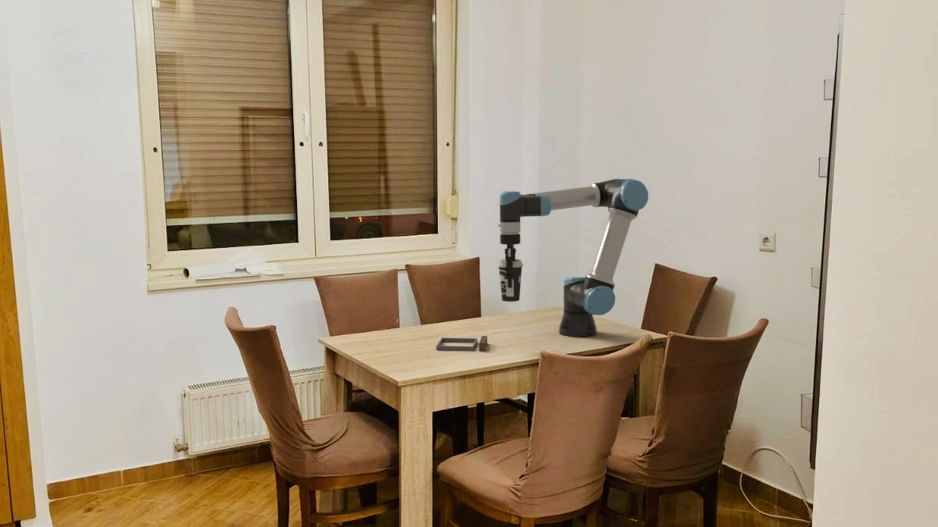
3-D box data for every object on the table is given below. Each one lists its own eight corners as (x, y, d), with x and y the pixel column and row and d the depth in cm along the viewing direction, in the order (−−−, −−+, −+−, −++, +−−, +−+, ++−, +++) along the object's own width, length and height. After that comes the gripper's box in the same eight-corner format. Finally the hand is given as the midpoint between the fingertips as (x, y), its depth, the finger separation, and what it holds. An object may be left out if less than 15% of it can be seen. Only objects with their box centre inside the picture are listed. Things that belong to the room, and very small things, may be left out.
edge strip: (487, 343, 299) (487, 335, 299) (484, 350, 287) (484, 343, 287) (482, 343, 299) (482, 335, 299) (479, 350, 288) (479, 342, 287)
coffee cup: (521, 302, 286) (521, 262, 284) (496, 302, 288) (495, 261, 286) (525, 298, 295) (524, 258, 293) (500, 297, 297) (499, 258, 295)
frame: (477, 342, 302) (477, 338, 301) (473, 350, 288) (473, 346, 288) (441, 341, 303) (441, 337, 303) (436, 349, 289) (436, 345, 289)
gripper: (501, 230, 298) (502, 290, 301) (498, 235, 278) (498, 299, 281) (521, 230, 297) (521, 290, 300) (519, 235, 277) (519, 299, 280)
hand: (510, 294), depth 291 cm, fingers closed on coffee cup, 7 cm apart
